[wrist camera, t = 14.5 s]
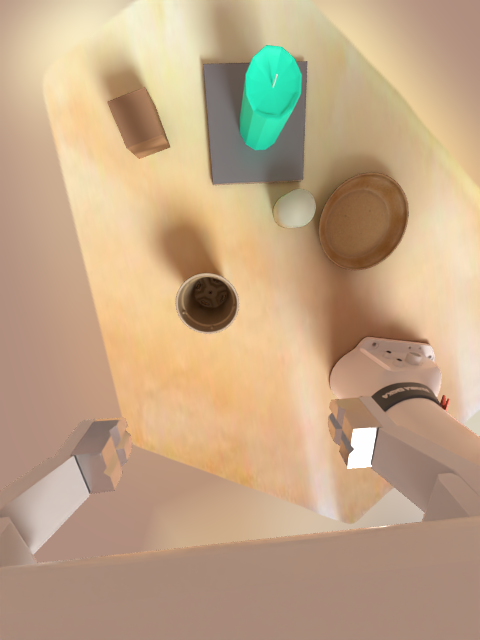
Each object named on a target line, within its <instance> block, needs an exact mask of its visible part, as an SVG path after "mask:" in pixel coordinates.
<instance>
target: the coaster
mask: <svg viewBox="0 0 480 640" xmlns="http://www.w3.org/2000/svg"><path fill="white" fill-rule="evenodd" d="M296 63H297V65H298V67H299V70H300V72H301V74H302V79H301V95H300V97H299V99H298V101H297V103H296V105H295V107H294V109H293V111H292V113H291V115H290V116H289V118H288V120H287V122H286V123H285V125H284V127H283V129H282V130H281V132H280V134H279V136H278V138H277V139H276V141H275V143H274V144H273V145H271V146H270V147H268V148H267V149H266V150H254V149H252V148H251V147H249V146H248V145H246V144H245V142H244V140H243V138H242V136H241V134H240V113H241V106H242V98H243V91H244V83H245V76H246V72H247V70H248V68H249V65H250V63H227V64H203V65H204V77H205V90H206V102H207V115H208V127H209V140H210V152H211V165H212V177H213V185H228V184H250V183H271V182H293V181H302V180H303V162H304V136H305V109H306V83H307V61H303V62H296Z"/></svg>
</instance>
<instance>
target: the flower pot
mask: <svg viewBox="0 0 480 640" xmlns="http://www.w3.org/2000/svg"><path fill="white" fill-rule="evenodd" d="M214 279H216V280H218V281H219V282H217V281H216V282H215V280H214ZM199 283H200V284H201V286H200V288H199V290H198V289H197V286H198V284H199ZM210 291H211V292H212V293H211V294H210ZM223 295H225V298H224V300H221V299H222V297H223ZM203 301H204V302H206V303H208V304H209V305H206V304H203V303H202V302H203ZM176 310H177V313H178V315H179V317H180V319H181V320H182V322H183V323H184V324H185V325H186V326H187V327H189V328H190V329H192V330H194V331H196V332H200V333H204V334H212V333H218V332H220V331H223V330H224V329H226V328H228V327H229V326H230V325H231V324H232V323H233V321H234V320H235V318H236V316H237V314H238V310H239V298H238V294H237V292H236V290H235V288H234V287H233V285H232V284H231V283H230V282H229V281H228V280H226V279H225V278H224V277H222V276H220V275H217V274H213V273H201V274H197V275H194V276H192V277H190V278H189V279H187V280H186V281H185V282H184V283H183V284H182V285H181V287H180V288H179V290H178V292H177V296H176Z"/></svg>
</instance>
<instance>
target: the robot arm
mask: <svg viewBox="0 0 480 640" xmlns="http://www.w3.org/2000/svg"><path fill="white" fill-rule="evenodd" d="M373 343H374V344H373ZM372 344H373V345H372ZM434 362H435V355H434V351H433V348H432V347H431V346H430V345H429V344H426V343H419V342H410V341H401V340H392V339H383V338H375V337H366V338H364V339H363V340H362V341H361V342H360V343H359V344H358V345H357V347H356V348H355V349H353V350H352V351H350V352H349V353H347V354H346V355H344V356H343V357H342V358H341V359H340V360H339V361H338V362H337V363H336V365H335V366H334V368H333V370H332V372H331V376H330V387H331V390H332V392H333V393H334V395H335V396H336V397H337V398H339V399H334V400H331V402H330V410H331V411H332V413H331V414H330V416H329V418H328V426H329V431H330V434H331V437H332V439H333V441H334V442H335V443H336V444H338V445H339V446H340V450H339V452H340V454H341V456H342V458H343V460H344V462H345V464H346V466H347V467H348V468H356V467H371V468H372V469H373V470H374V471H375V472H377V473H378V474H379V475H380V476H381V477H383V478H384V479H385V480H386V481H387V482H389V483H390V484H391V485H392V486H393V487H395V488H396V489H397V490H398V491H399V492H401V493H402V494H403V495H404V496H405V497H407V498H408V499H409V500H410V501H412V502H413V503H414V504H415V505H416V506H418V507H419V508H420V509H421V510H422V511H424V512H425V514H424V517H423V519H422V522H415V523H406V524H396V525H387V526H378V527H369V528H359V529H350V530H341V531H332V532H322V533H313V534H305V535H295V536H285V537H276V538H268V539H258V540H249V541H240V542H231V543H221V544H212V545H202V546H193V547H184V548H174V549H165V550H156V551H147V552H137V553H128V554H119V555H109V556H100V557H91V558H82V559H72V560H63V561H53V562H45V563H38V562H37V560H36V559H35V557H34V554H35V553H36V551H37V550H38V549H39V548H40V547H41V546H42V545H43V544H44V543H45V542H46V541H47V540H48V539H49V538H50V537H51V536H52V535H53V534H54V533H55V531H56V530H57V529H58V528H59V527H60V526H61V525H62V524H63V523H64V522H65V521H66V520H67V519H68V518H69V517H70V516H71V515H72V514H73V513H74V511H75V510H76V509H77V508H78V507H79V506H80V505H81V504H82V503H83V502H84V501H85V500H86V499H87V498H88V497H89V496H90V494H92V493H100V492H108V491H115V489H116V487H117V485H118V482H119V480H120V478H121V475H122V473H123V471H122V468H121V466H123V465H124V464H125V463H126V462H127V461H128V459H129V456H130V454H131V448H132V439H131V435H130V434H129V433H128V432H127V431H126V428H127V426H128V425H127V422H126V419H125V418H107V419H97V420H83V421H82V422H80V423H79V424H78V426H77V427H76V428H75V429H74V431H73V432H72V434H71V435H70V436H69V437H68V439H67V440H66V441H65V443H64V444H63V446H62V447H61V448H60V449H59V451H58V452H57V453H56V454H55V456H54V457H53V458H48V459H47V460H45V461H43V462H42V463H41V464H39V465H37V466H36V467H34V468H33V469H31V470H30V471H29V472H27V473H26V474H24V475H23V476H21V477H20V478H18V479H17V480H15V481H14V482H12V483H11V484H9V485H8V486H6V487H5V488H3V489H2V490H0V640H480V437H479V436H478V435H476V434H475V433H474V432H472V431H471V430H470V429H468V428H467V427H466V426H464V425H463V424H462V423H460V422H459V421H458V420H457V419H455V418H454V417H453V416H451V415H450V414H449V413H448V412H446V411H447V408H448V405H449V400H450V399H447V401H446V398H445V395H443V397H442V400H441V403H439V401H438V399H437V396H438V394H439V391H440V387H441V381H442V375H441V371H440V368H439V367H438V366H437V364H436V363H434Z"/></svg>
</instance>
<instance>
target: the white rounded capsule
mask: <svg viewBox="0 0 480 640" xmlns="http://www.w3.org/2000/svg"><path fill="white" fill-rule="evenodd" d="M315 209H316V204H315V200H314V197H313V196H312V194H311V193H310V192H308V191H307V190H304V189H295V190H293V191H291V192H289V193H288V194H286V195H284V196H283V197H281V198H280V199H278V200H277V202H276V203H275V205H274V208H273V217H274V220H275V221H276V223H277V224H278V225H279V226H281V227H284V228H295V227H302V226H305V225H306V224H308V223H309V222H310V221H311V219H312V218H313V216H314V214H315Z"/></svg>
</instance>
